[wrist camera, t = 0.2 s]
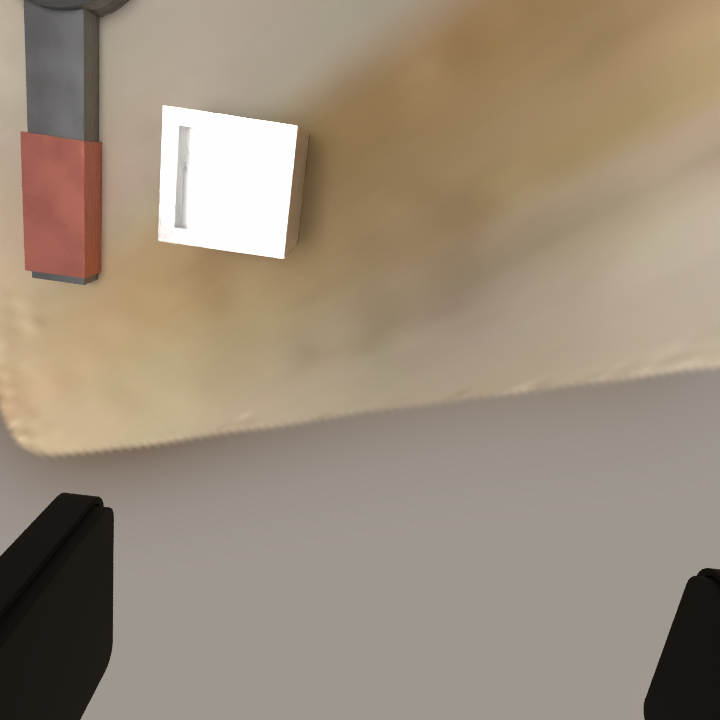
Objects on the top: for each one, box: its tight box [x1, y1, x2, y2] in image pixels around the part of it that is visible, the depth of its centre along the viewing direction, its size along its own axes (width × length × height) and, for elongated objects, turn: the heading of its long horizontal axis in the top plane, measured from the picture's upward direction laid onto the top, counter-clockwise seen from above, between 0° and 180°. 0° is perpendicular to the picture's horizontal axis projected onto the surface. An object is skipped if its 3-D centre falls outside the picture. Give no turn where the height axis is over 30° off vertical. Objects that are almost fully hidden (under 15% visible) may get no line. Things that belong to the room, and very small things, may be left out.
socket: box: [158, 105, 309, 259], centre depth 33 cm, size 7×7×7 cm
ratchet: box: [21, 0, 129, 285], centre depth 31 cm, size 24×9×7 cm, turn 172°
